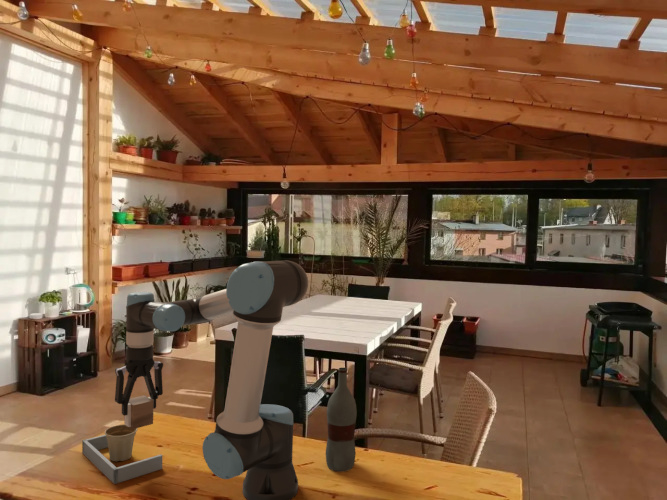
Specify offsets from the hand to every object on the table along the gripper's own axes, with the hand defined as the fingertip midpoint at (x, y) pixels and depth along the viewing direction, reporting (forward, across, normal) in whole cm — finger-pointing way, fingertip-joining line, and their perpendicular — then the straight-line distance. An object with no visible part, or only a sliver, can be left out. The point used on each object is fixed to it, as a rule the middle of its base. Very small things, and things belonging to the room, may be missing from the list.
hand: (139, 422), depth 152 cm
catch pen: (+14, +2, -8) cm, 16 cm away
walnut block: (0, 0, 0) cm, 0 cm away
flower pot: (+14, +1, -10) cm, 17 cm away
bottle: (+14, -46, +38) cm, 62 cm away
